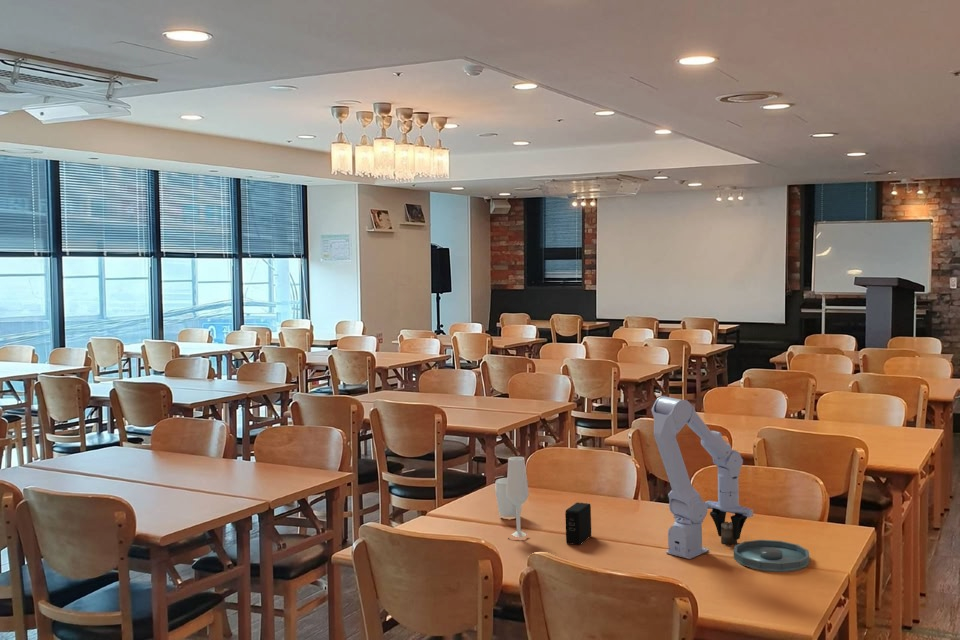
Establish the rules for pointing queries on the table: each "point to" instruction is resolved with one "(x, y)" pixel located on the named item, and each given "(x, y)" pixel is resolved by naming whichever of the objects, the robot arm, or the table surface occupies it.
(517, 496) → the champagne flute
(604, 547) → the table surface
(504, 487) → the cup
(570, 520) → the electronic device
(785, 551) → the round groove tray
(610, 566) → the table surface
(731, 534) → the brown ball-rimmed cylinder
